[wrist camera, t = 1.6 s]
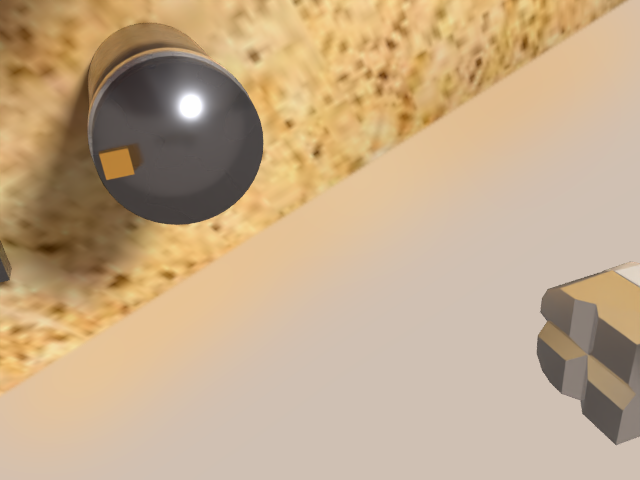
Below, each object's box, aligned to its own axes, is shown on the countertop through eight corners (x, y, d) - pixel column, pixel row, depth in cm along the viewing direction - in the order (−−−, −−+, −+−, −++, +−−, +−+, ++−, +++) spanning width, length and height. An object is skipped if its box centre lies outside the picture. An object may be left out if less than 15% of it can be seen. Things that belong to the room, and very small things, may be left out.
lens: (204, 10, 24) (255, 46, 17) (226, 135, 27) (278, 209, 20) (67, 31, 23) (64, 78, 16) (104, 160, 25) (115, 248, 18)
